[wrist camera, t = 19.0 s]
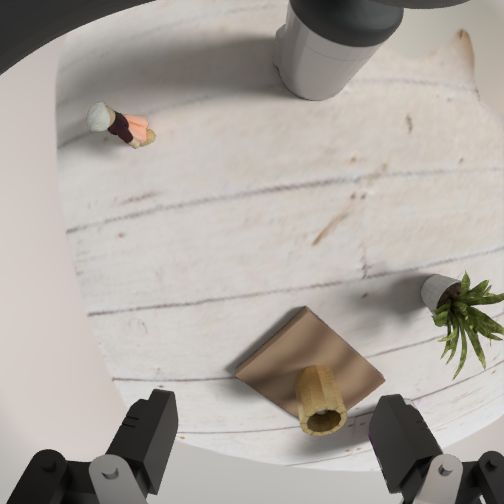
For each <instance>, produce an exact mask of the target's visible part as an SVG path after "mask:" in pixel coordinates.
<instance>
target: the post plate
mask: <svg viewBox="0 0 504 504" xmlns="http://www.w3.org/2000/svg"><path fill="white" fill-rule="evenodd" d="M314 365H320V366H326V367H328V368H329V369H330V370H332V371H333V373H334V376H335V379H336V382H337V385H338V388H339V391H340V394H341V397H342V400H343V403H344V406H345V409H346V412H347V411H348V410H349V409H351V408H352V407H353V406H355V405H356V404H357V403H359V402H360V401H361V400H363V399H364V398H365V397H366V396H368V395H369V394H370V393H371V392H373V391H374V390H375V389H376V388H378V387H379V386H380V385H381V384H383V383H384V382H385V381H386V380H385V379H384V377H383V375H382V374H381V373H380V372H379V371H378V370H377V369H376V368H375V367H373V366H372V365H371V364H370V363H369V362H368V361H367V360H366V359H364V358H363V357H362V356H361V355H360V354H359V353H358V352H357V351H356V350H354V349H353V348H352V347H351V346H350V345H349V344H348V343H347V342H346V341H344V340H343V339H342V338H341V337H340V336H339V335H338V334H337V333H336V332H334V331H333V330H332V329H331V328H330V327H329V326H328V325H327V324H326V323H324V322H323V321H322V320H321V319H320V318H319V317H318V316H317V315H316V314H314V313H313V312H312V311H311V310H310V309H309V308H308V307H307V306H305V307H304V308H303V309H302V310H301V311H300V312H299V313H298V314H297V315H296V316H295V317H294V318H293V319H291V320H290V321H289V322H288V323H287V324H286V325H285V326H284V327H283V328H282V329H280V330H279V331H278V332H277V333H276V334H275V335H274V336H273V337H272V338H270V339H269V340H268V341H267V342H266V343H265V344H264V345H262V346H261V347H260V348H259V349H258V350H257V351H256V352H254V353H253V354H252V355H251V356H250V357H249V358H247V359H246V360H245V361H244V362H243V363H241V364H240V365H239V366H238V367H237V368H236V372H235V376H236V377H238V378H239V379H241V380H242V381H243V382H245V383H246V384H248V385H249V386H251V387H252V388H253V389H255V390H256V391H258V392H259V393H261V394H262V395H264V396H265V397H267V398H268V399H270V400H271V401H273V402H274V403H276V404H277V405H279V406H280V407H282V408H283V409H285V410H287V411H288V412H290V413H291V414H293V415H294V416H296V417H298V418H299V413H298V406H297V399H296V392H295V385H294V382H295V379H296V377H297V374H299V373H300V372H301V371H302V370H303V369H305V368H307V367H310V366H314ZM326 412H328V410H327V409H326V410H322V411H318V412H316V413H317V414H325V413H326Z"/></svg>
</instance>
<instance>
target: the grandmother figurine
mask: <svg viewBox="0 0 504 504" xmlns="http://www.w3.org/2000/svg"><path fill="white" fill-rule="evenodd" d="M87 126H88V129H89V130H90V131H92V132H93V131H98V132H100V131H105V130H106V129H108V131H109V132H110V133H111V134H113V135H118V136H119V137H120V138H121V139H122V140H123V141H124V142H126V143H128V144H129V145H130V146H132V147H133V148H134V149H136V148H138V147H139V146H145V145H148V144H150V143H152V142H153V141H154V140H155V137H156V136H155V133H154V131H152V130H146V129H147V126H148V121H147V119H146V118H144V117H141V116H136V115H128V114H121V113H118V112H116V111H114V110H113V109H112V108H111V107H109V106H108V105H105V104H104V103H103V102H97V103H95V104H94V105H93V106H92V107H91V108H90V110H89V112H88V114H87Z"/></svg>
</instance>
